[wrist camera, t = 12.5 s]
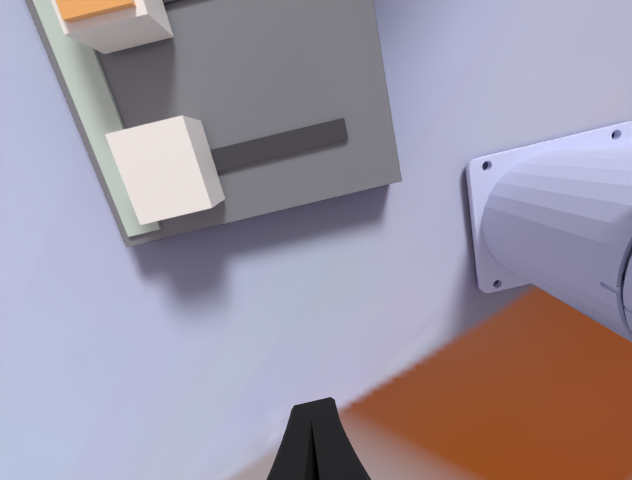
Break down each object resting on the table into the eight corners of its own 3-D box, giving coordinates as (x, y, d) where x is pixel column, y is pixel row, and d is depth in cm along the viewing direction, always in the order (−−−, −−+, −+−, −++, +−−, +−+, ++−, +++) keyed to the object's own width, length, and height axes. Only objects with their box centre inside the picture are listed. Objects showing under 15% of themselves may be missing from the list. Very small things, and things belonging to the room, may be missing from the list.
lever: (200, 120, 15) (182, 115, 12) (225, 198, 16) (211, 207, 13) (136, 136, 15) (104, 134, 13) (163, 213, 16) (140, 225, 13)
